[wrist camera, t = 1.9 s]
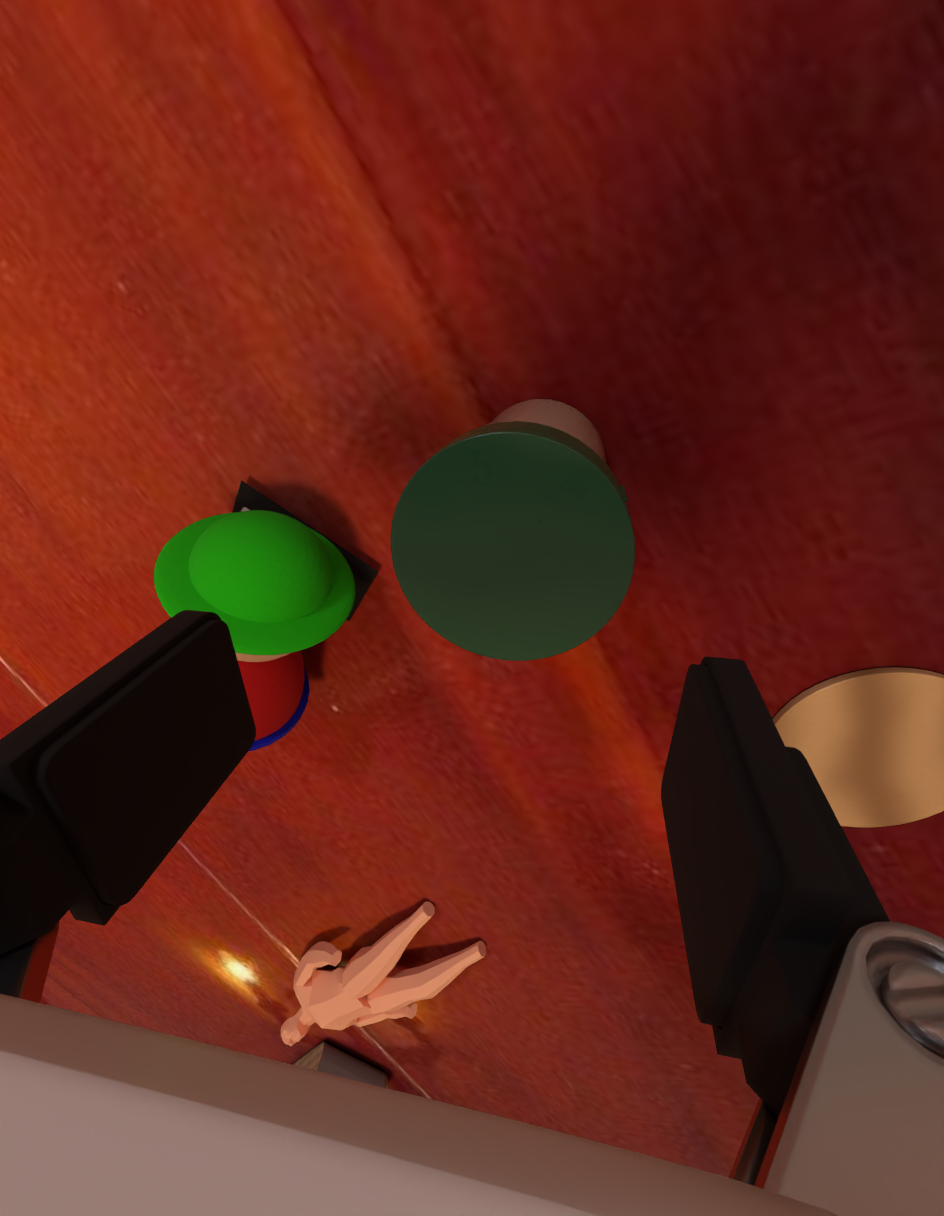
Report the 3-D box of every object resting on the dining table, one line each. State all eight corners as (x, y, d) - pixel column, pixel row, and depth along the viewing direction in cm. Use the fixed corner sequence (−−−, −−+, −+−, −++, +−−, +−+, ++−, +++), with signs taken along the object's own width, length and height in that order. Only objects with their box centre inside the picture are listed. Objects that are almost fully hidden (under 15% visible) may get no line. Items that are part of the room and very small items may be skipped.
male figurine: (499, 998, 42) (322, 1078, 52) (504, 936, 46) (340, 1021, 56) (399, 926, 39) (234, 1023, 49) (415, 868, 44) (260, 968, 54)
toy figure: (332, 680, 37) (400, 522, 27) (270, 804, 30) (331, 651, 20) (208, 627, 35) (232, 441, 26) (112, 743, 28) (94, 548, 19)
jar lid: (570, 369, 14) (568, 375, 13) (669, 585, 16) (677, 611, 15) (366, 490, 17) (344, 507, 15) (475, 659, 19) (466, 688, 18)
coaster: (976, 636, 24) (983, 642, 24) (1013, 796, 28) (1019, 804, 27) (731, 705, 29) (734, 710, 28) (791, 836, 32) (793, 843, 32)
